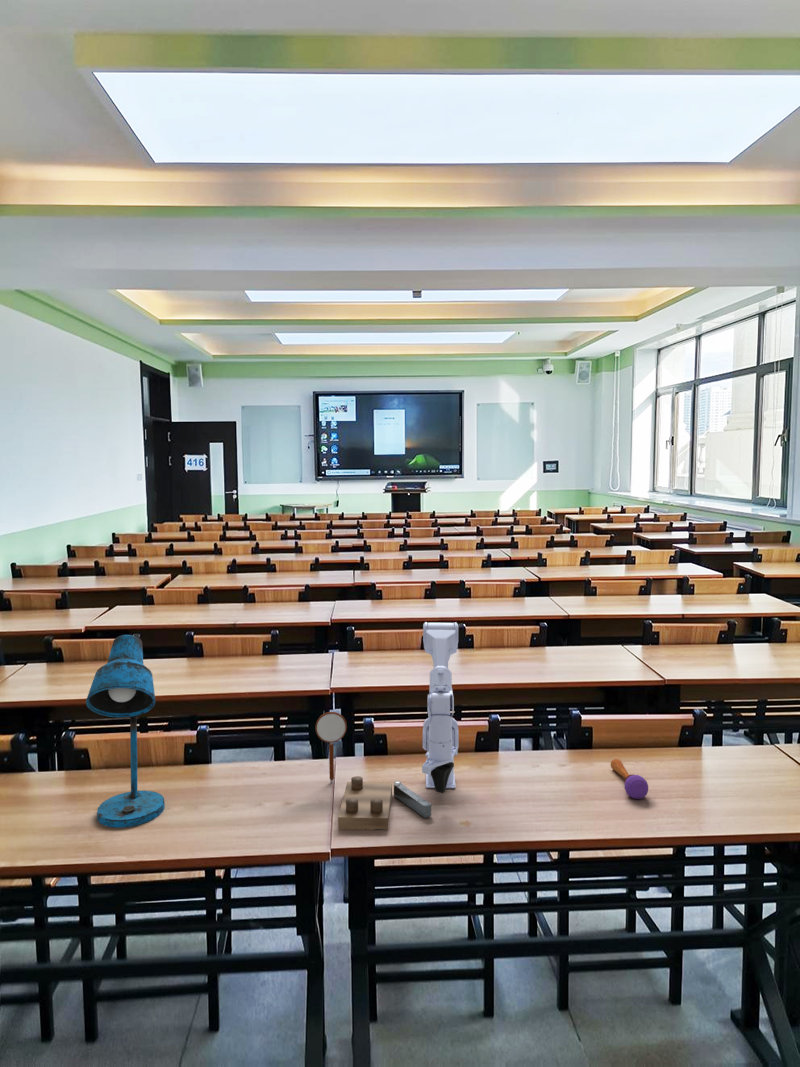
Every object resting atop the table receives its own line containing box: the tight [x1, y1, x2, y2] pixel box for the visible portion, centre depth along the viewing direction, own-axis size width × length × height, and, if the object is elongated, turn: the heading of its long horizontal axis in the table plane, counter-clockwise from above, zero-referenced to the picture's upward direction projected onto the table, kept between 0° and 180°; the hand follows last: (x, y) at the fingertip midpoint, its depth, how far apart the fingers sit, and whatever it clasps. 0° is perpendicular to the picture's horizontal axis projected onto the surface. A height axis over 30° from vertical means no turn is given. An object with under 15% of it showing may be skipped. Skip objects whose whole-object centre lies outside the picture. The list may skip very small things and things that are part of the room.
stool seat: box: [337, 776, 393, 831], centre depth 176 cm, size 19×12×6 cm, turn 178°
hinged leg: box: [393, 780, 432, 819], centre depth 178 cm, size 15×2×4 cm, turn 33°
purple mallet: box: [610, 758, 649, 800], centre depth 190 cm, size 6×6×20 cm
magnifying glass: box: [314, 711, 348, 783], centre depth 191 cm, size 9×2×20 cm, turn 96°
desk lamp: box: [85, 634, 166, 829], centre depth 172 cm, size 16×22×45 cm
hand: (440, 791), depth 176 cm, fingers closed
